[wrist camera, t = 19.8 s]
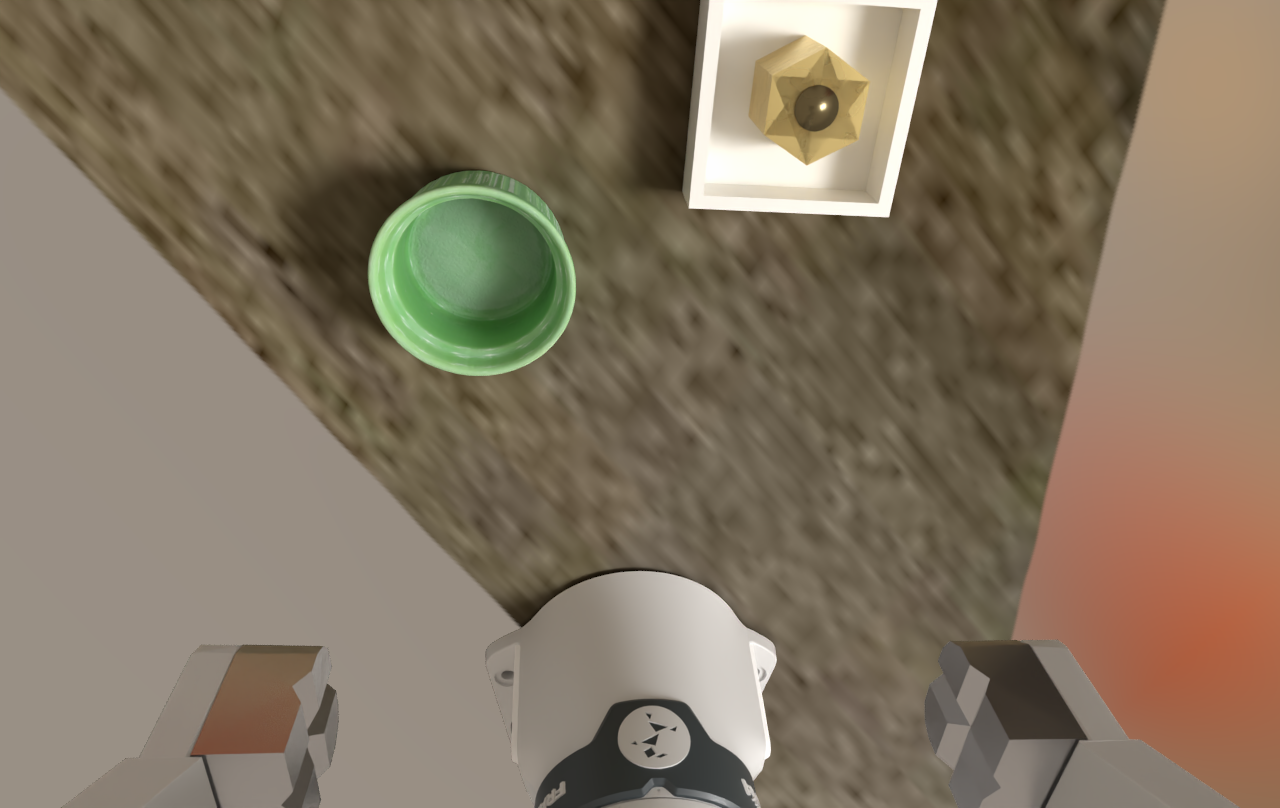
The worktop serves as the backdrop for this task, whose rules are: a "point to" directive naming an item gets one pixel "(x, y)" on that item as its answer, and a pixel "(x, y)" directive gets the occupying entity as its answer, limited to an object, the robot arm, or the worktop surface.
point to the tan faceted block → (808, 100)
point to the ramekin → (473, 274)
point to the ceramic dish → (755, 165)
